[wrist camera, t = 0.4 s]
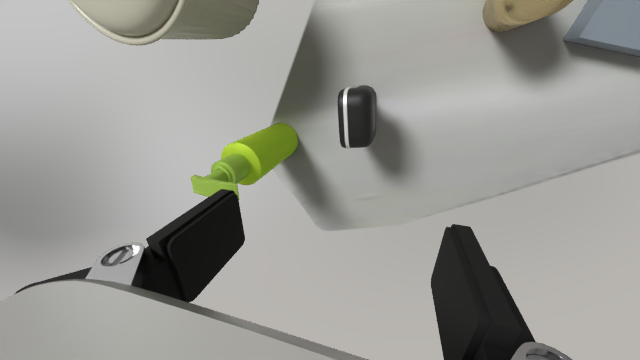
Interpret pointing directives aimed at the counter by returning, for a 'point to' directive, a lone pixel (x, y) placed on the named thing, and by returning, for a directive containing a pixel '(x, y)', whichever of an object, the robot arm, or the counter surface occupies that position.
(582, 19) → the plate
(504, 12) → the brass cylinder
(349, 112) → the battery charger
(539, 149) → the counter surface
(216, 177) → the soap dispenser
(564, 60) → the counter surface
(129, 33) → the canister
